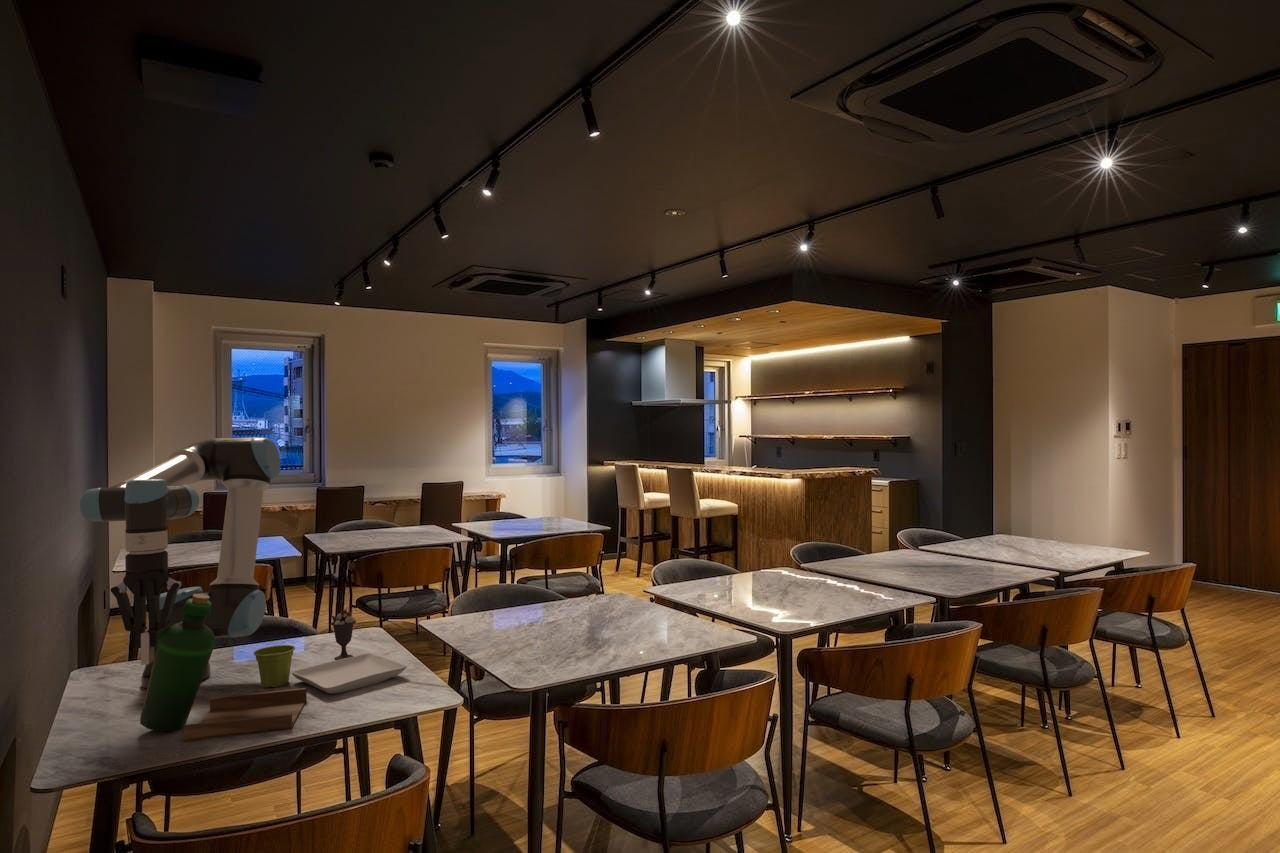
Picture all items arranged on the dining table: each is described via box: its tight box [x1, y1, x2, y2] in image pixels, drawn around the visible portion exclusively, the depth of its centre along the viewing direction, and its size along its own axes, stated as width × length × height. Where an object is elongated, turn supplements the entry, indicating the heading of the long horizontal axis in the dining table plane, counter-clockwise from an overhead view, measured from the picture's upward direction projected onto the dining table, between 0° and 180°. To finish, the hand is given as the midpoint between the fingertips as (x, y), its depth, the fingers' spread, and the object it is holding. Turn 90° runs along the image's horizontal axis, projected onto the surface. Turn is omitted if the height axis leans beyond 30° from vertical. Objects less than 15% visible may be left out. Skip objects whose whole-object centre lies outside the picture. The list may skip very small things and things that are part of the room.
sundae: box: [329, 603, 357, 661], centre depth 205 cm, size 7×7×15 cm
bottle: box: [139, 594, 217, 732], centre depth 155 cm, size 11×11×28 cm
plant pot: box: [253, 644, 296, 688], centre depth 183 cm, size 9×9×9 cm
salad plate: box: [291, 652, 407, 694], centre depth 185 cm, size 21×21×3 cm
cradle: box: [183, 687, 308, 742], centre depth 159 cm, size 18×20×3 cm
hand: (147, 662), depth 154 cm, fingers closed
